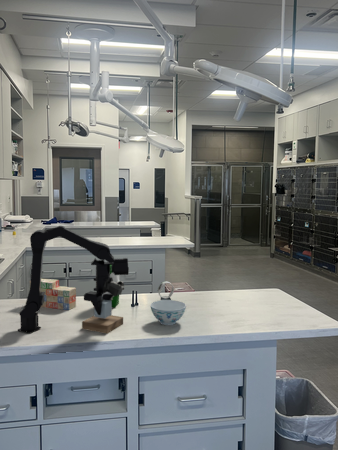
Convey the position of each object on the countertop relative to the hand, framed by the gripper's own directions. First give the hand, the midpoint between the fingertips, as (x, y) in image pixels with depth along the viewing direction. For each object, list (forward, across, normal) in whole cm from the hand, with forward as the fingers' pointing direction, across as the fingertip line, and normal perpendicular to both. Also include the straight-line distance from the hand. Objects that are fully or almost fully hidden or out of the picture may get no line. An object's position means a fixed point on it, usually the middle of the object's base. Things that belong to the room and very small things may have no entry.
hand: (102, 312), depth 164 cm
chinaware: (+6, +16, -22) cm, 28 cm away
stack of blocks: (+6, +13, +37) cm, 39 cm away
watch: (+6, +40, -10) cm, 42 cm away
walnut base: (+6, 0, 0) cm, 6 cm away
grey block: (+1, 0, 0) cm, 1 cm away
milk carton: (+6, +26, +13) cm, 30 cm away
